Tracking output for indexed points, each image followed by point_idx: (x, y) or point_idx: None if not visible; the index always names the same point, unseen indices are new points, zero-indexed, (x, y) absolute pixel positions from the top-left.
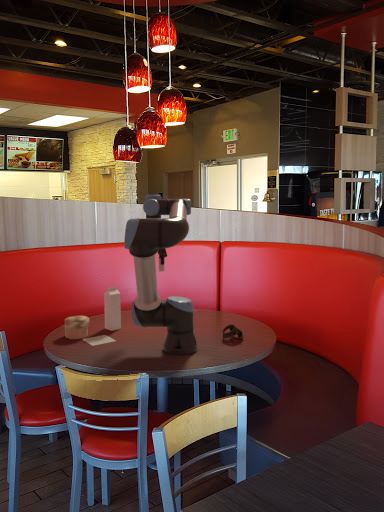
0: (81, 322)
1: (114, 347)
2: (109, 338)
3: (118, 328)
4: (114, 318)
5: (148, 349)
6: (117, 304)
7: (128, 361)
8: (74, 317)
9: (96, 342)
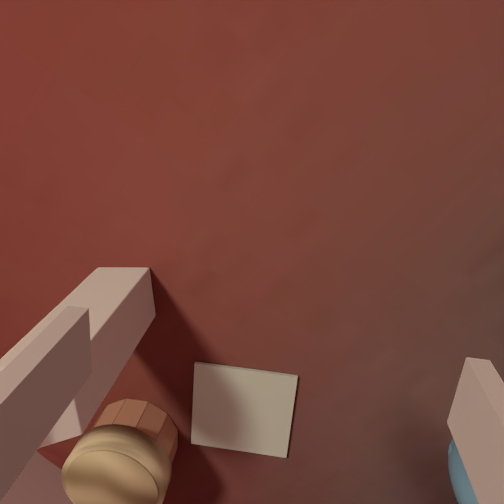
0: (164, 492)
1: (352, 414)
2: (250, 378)
3: (149, 283)
4: (134, 328)
5: (477, 347)
6: (103, 349)
7: None
8: (89, 487)
9: (261, 432)
